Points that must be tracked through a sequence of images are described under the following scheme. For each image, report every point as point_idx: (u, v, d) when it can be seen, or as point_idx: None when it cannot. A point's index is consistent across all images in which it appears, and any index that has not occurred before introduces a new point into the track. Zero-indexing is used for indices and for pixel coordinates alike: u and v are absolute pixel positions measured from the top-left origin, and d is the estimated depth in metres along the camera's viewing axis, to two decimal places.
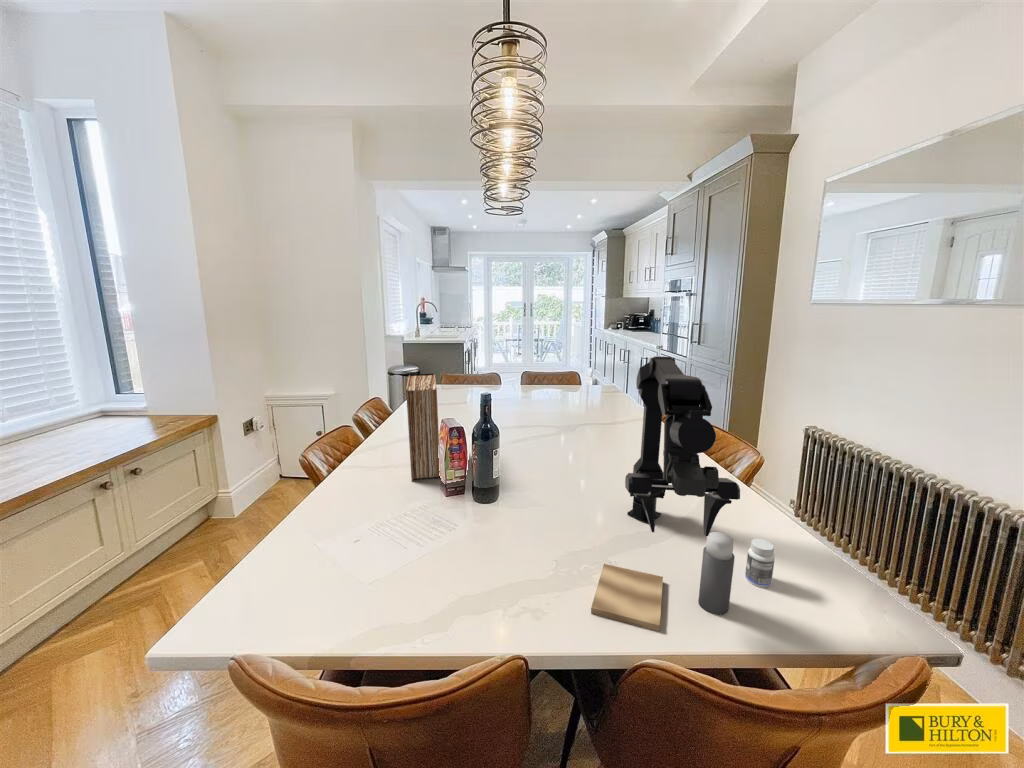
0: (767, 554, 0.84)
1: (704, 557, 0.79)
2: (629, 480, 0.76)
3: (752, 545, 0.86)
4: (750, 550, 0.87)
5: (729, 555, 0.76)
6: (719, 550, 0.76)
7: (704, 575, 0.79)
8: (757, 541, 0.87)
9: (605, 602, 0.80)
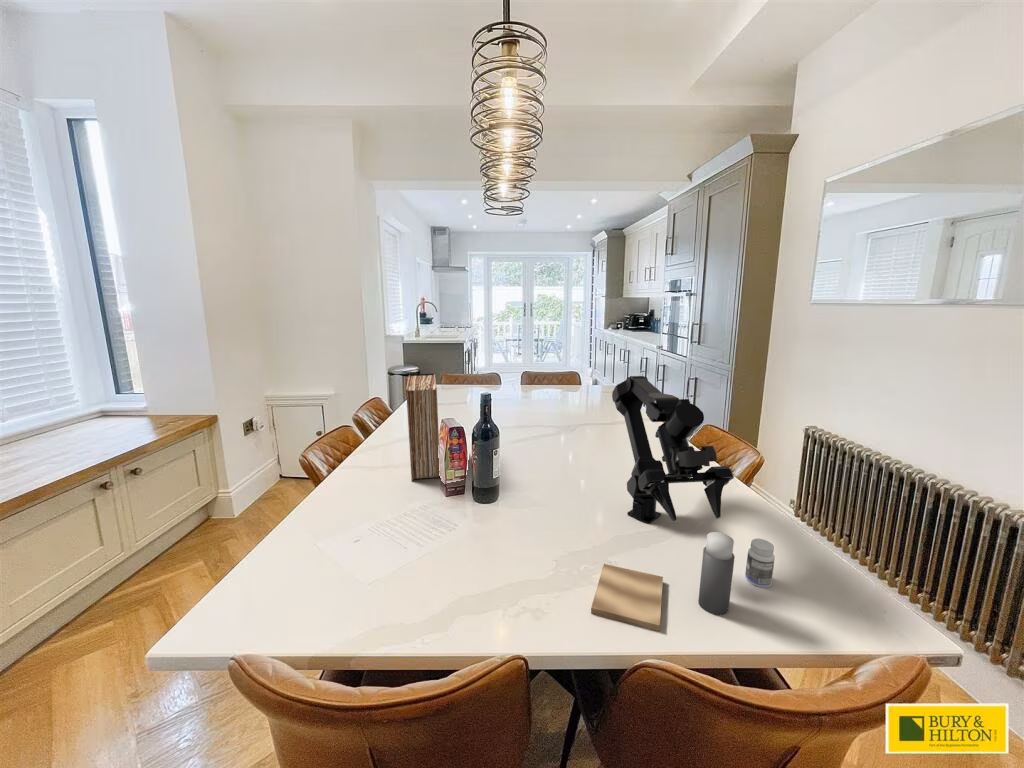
0: (767, 554, 0.84)
1: (704, 557, 0.79)
2: (645, 472, 0.88)
3: (752, 545, 0.86)
4: (750, 550, 0.87)
5: (729, 555, 0.76)
6: (719, 550, 0.76)
7: (704, 576, 0.79)
8: (757, 541, 0.87)
9: (605, 602, 0.80)
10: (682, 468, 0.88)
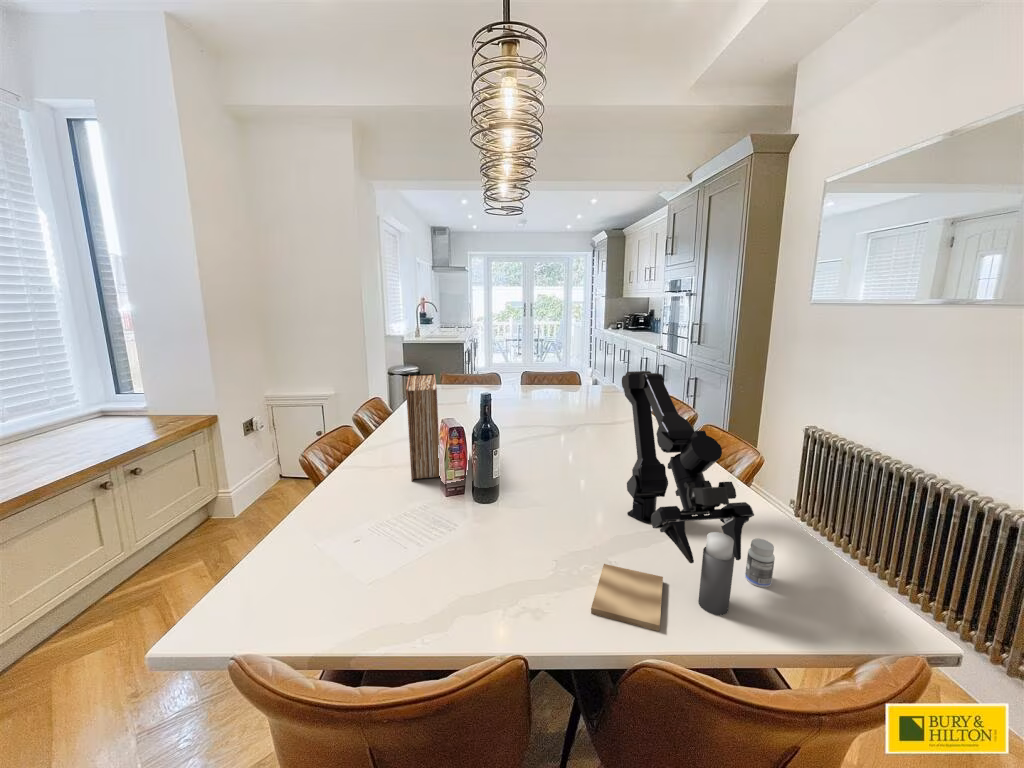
0: (767, 554, 0.84)
1: (704, 557, 0.79)
2: (659, 510, 0.82)
3: (752, 545, 0.86)
4: (750, 550, 0.87)
5: (729, 555, 0.76)
6: (719, 550, 0.76)
7: (704, 576, 0.79)
8: (757, 541, 0.87)
9: (605, 602, 0.80)
10: (698, 505, 0.82)
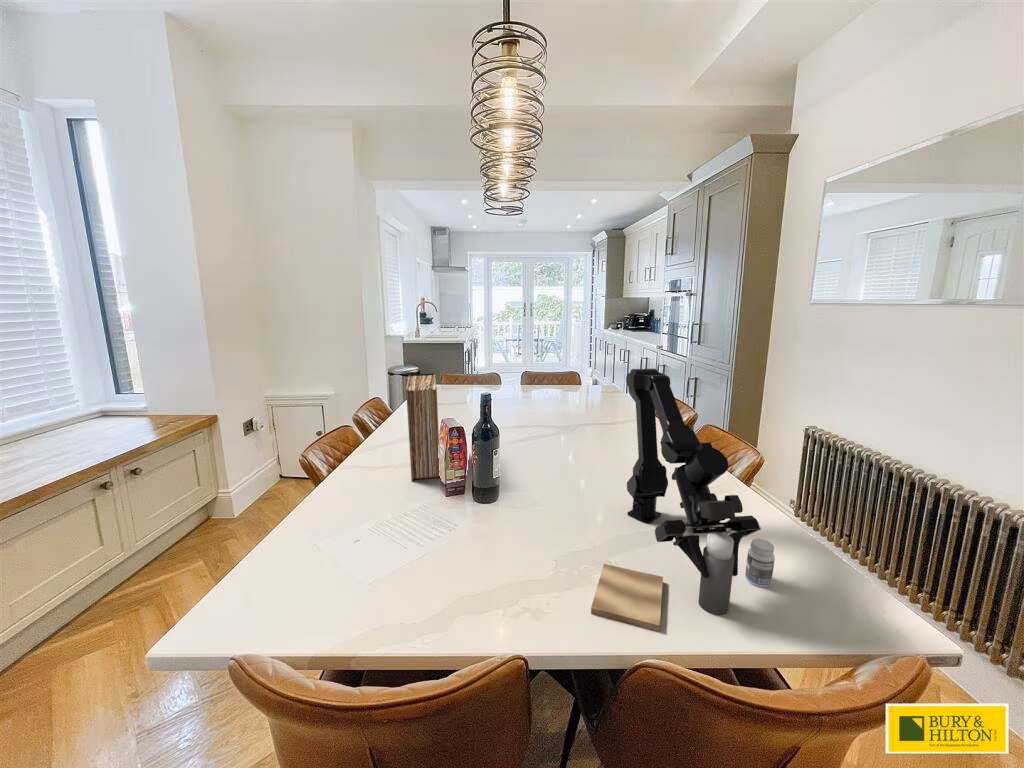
0: (767, 554, 0.84)
1: (704, 557, 0.79)
2: (663, 524, 0.80)
3: (752, 545, 0.86)
4: (750, 550, 0.87)
5: (729, 555, 0.76)
6: (719, 550, 0.76)
7: None
8: (757, 541, 0.87)
9: (605, 602, 0.80)
10: (704, 519, 0.81)
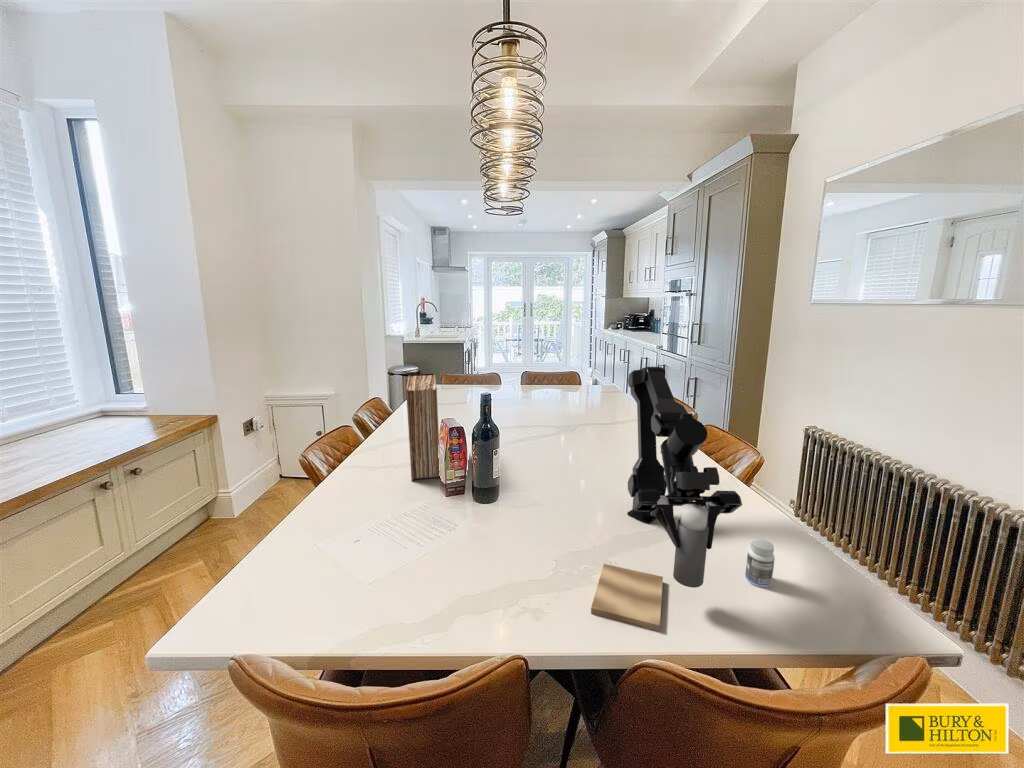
0: (767, 554, 0.84)
1: (677, 527, 0.78)
2: (638, 492, 0.80)
3: (752, 545, 0.86)
4: (750, 550, 0.87)
5: (701, 526, 0.75)
6: (691, 520, 0.75)
7: None
8: (757, 541, 0.87)
9: (605, 602, 0.80)
10: (681, 490, 0.80)
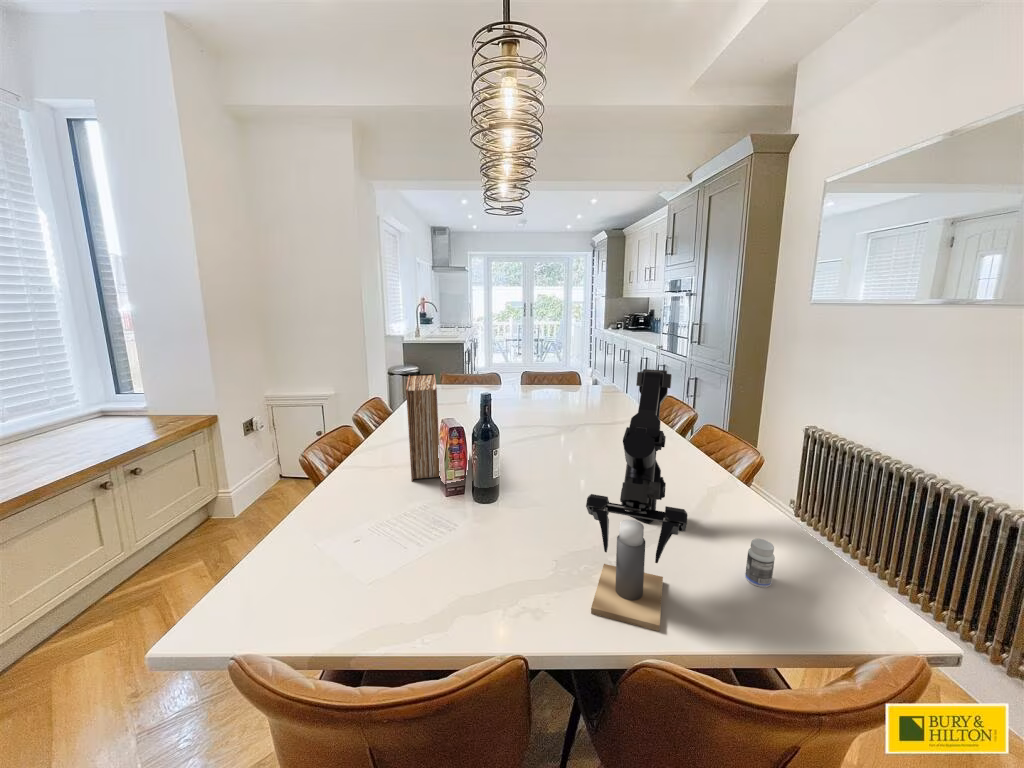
0: (767, 554, 0.84)
1: None
2: (588, 496, 0.86)
3: (752, 545, 0.86)
4: (750, 550, 0.87)
5: (633, 542, 0.78)
6: (623, 535, 0.79)
7: (616, 558, 0.82)
8: (757, 541, 0.87)
9: (605, 602, 0.80)
10: (628, 500, 0.83)
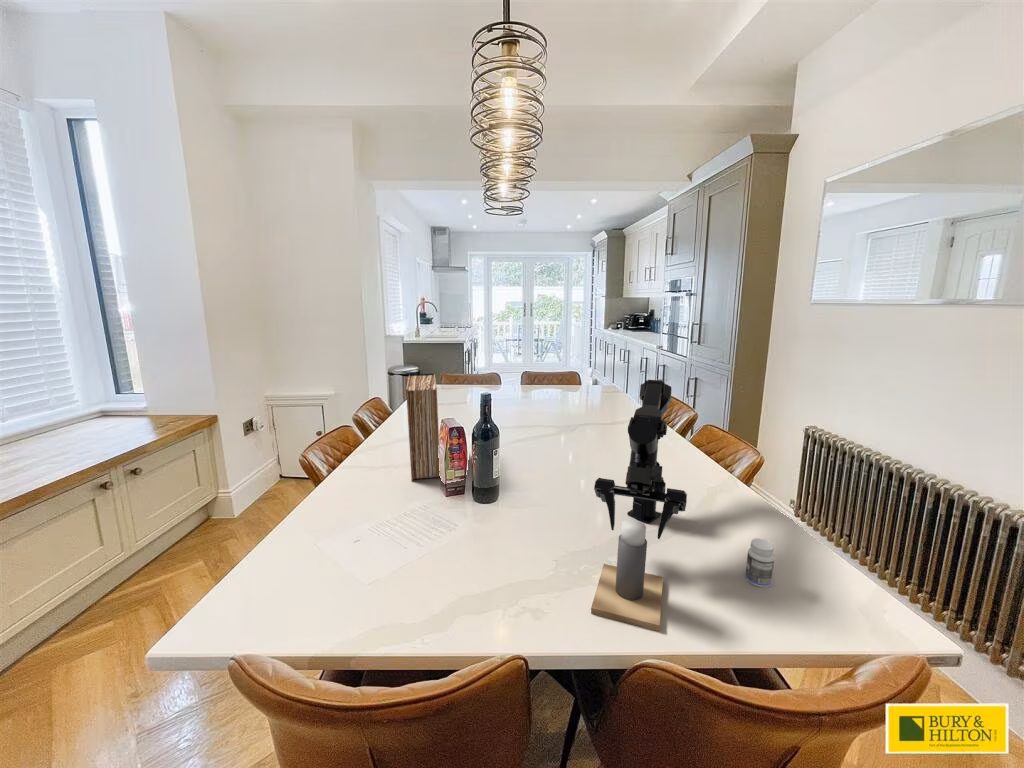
0: (767, 554, 0.84)
1: None
2: (596, 480, 0.94)
3: (752, 545, 0.86)
4: (750, 550, 0.87)
5: (635, 542, 0.78)
6: (626, 535, 0.79)
7: (617, 558, 0.82)
8: (757, 541, 0.87)
9: (605, 602, 0.80)
10: (633, 483, 0.91)
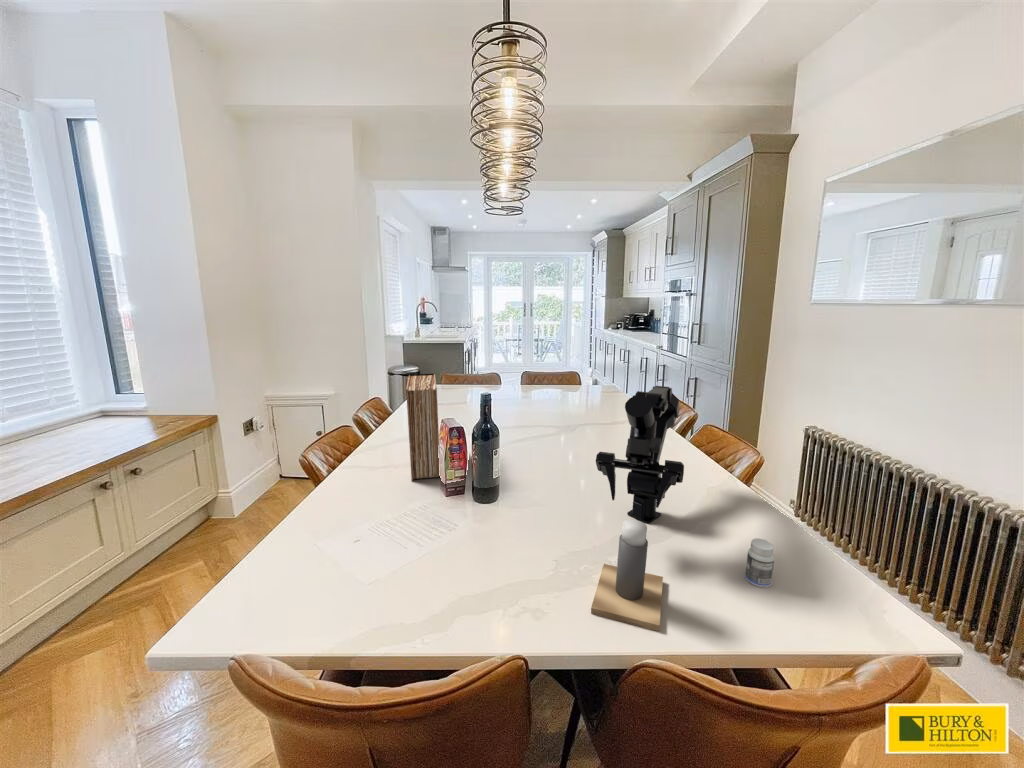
0: (767, 554, 0.84)
1: None
2: None
3: (752, 545, 0.86)
4: (750, 550, 0.87)
5: (636, 542, 0.78)
6: (627, 535, 0.79)
7: None
8: (757, 541, 0.87)
9: (605, 602, 0.80)
10: (633, 456, 0.95)
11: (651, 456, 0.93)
